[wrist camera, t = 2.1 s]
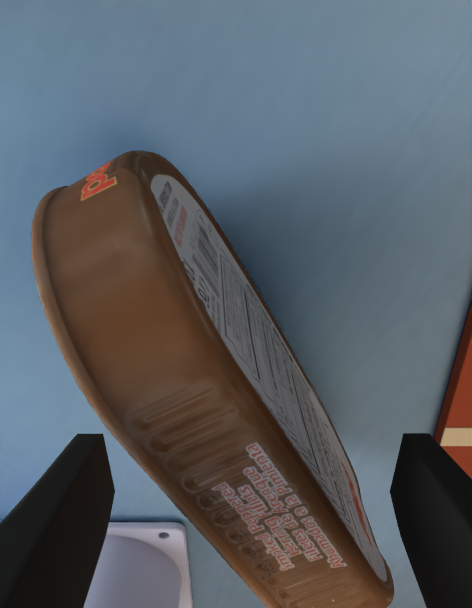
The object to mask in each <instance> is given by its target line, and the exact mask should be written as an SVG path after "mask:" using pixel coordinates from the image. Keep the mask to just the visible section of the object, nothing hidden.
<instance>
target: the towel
mask: <svg viewBox="0 0 472 608" xmlns="http://www.w3.org/2000/svg"><path fill="white" fill-rule="evenodd" d="M434 439H435V440H436V441H437V442H438V443H439V444H440V445H441V447H442V448H443V449H444V450H445V451H446V452H447V453H448V454H449V455H450V456H451V457H452V458H453V460H454V461H455V462H456V463H457V464H458V465H459V466H460V467H461V468H462V469H463V470H464V471H465V472H466V473H467V475H468V476H469V477H470V478H472V302H471V306H470V309H469V313H468V317H467V320H466V324H465V327H464V331H463V335H462V338H461V342H460V345H459V349H458V353H457V356H456V360H455V363H454V367H453V371H452V374H451V378H450V382H449V385H448V389H447V392H446V396H445V400H444V403H443V407H442V410H441V414H440V418H439V421H438V425H437V428H436V432H435V436H434Z"/></svg>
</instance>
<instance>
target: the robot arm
mask: <svg viewBox="0 0 472 608" xmlns="http://www.w3.org/2000/svg"><path fill="white" fill-rule="evenodd" d="M114 494H115V489H114V484H113V480H112V475H111V470H110V465H109V461H108V456H107V451H106V446H105V441H104V437H103V434H77V435H76V436H75V437H74V438H73V439H72V440H71V442H70V443H69V444H68V445H67V447H66V448H65V449H64V450H63V451H62V453H61V454H60V455H59V456H58V458H57V459H56V460H55V461H54V462H53V464H52V465H51V466H50V467H49V468H48V470H47V471H46V472H45V473H44V474H43V475H42V477H41V478H40V479H39V480H38V481H37V483H36V484H35V485H34V486H33V487H32V488H31V489H30V491H29V492H28V493H27V494H26V495H25V496H24V497H23V498H22V500H21V501H20V502H19V503H18V504H17V505H16V506H15V508H14V509H13V510H12V511H11V512H10V513H9V514H8V515H7V516H6V517H5V519H4V520H3V521H2V522H0V608H193V599H192V589H191V579H190V569H189V559H188V549H187V539H186V530H185V527H184V526H183V525H182V524H180V523H177V522H109V520H110V515H111V509H112V504H113V499H114ZM390 494H391V498H392V502H393V507H394V511H395V515H396V519H397V523H398V527H399V531H400V535H401V538H402V541H403V544H404V547H405V549H406V552H407V555H408V558H409V560H410V563H411V566H412V569H413V572H414V574H415V577H416V580H417V582H418V585H419V588H420V591H421V593H422V596H423V599H424V601H425V604H426V607H427V608H472V479H471V478H470V477H469V476H468V475H467V473H466V472H465V471H464V470H463V469H462V468H461V467H460V466H459V465H458V464H457V463H456V462H455V461H454V460H453V458H452V457H451V456H450V455H449V454H448V453H447V452H446V451H445V450H444V449H443V448H442V447H441V445H440V444H439V443H438V442H437V441H436V440H435V439H434V438H433V437H432V436H431V435H430V434H429V433H405V434H403V438H402V442H401V446H400V450H399V455H398V459H397V463H396V468H395V472H394V476H393V480H392V485H391V489H390Z"/></svg>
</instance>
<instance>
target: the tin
mask: <svg viewBox="0 0 472 608" xmlns="http://www.w3.org/2000/svg"><path fill="white" fill-rule="evenodd" d="M31 241H32V250H31V252H32V262H33V268H34V276H35V281H36V285H37V289H38V292H39V296H40V299H41V303H42V305H43V308H44V312H45V315H46V317H47V320H48V322H49V325H50V328H51V330H52V333H53V335H54V337H55V340H56V342H57V345H58V347H59V350H60V351H61V353H62V355H63V357H64V359H65V361H66V363H67V365H68V367H69V369H70V371H71V373H72V375H73V377H74V379H75V381H76V383H77V385H78V386H79V388H80V390H81V391H82V392H83V394H84V395H85V397H86V399H87V401H88V403H89V404H90V406H91V407H92V408H93V410H94V411H95V413H96V414H97V415H98V417H99V418H100V420H101V421H102V422H103V424H104V425H105V426H106V428H107V429H108V430H109V431H110V433H111V434H112V435H113V436H114V438H115V439H116V440H117V441H118V442H119V443H120V444H121V445H122V446H123V448H124V449H125V450H126V451H127V452H128V454H129V455H130V456H131V457H132V458H133V459H134V460H135V461H136V462H137V463H138V464H139V465H140V467H141V468H142V469H143V470H144V471H145V472H146V473H147V474H148V475H149V476H150V477H151V479H152V480H153V481H154V482H155V483H156V484H157V485H158V486H159V487H160V489H161V490H162V491H163V492H164V493H165V494H166V495H167V496H168V498H169V499H170V500H171V501H172V502H173V503H174V504H175V506H176V507H177V508H178V509H179V510H180V511H181V512H182V513H183V514H184V516H185V517H187V519H188V520H189V521H190V522H191V523H192V524H193V525H194V526H195V527H196V529H197V530H198V531H199V532H200V533H201V534H202V535H203V536H204V537H205V539H206V540H207V541H208V542H209V543H210V544H211V545H212V546H213V547H214V548H215V549H216V551H217V552H218V553H219V554H220V555H221V556H222V557H223V559H224V560H225V561H226V562H227V563H228V564H229V566H230V567H231V568H232V569H233V570H234V571H235V572H236V573H237V574H238V575H239V576H240V577H241V579H242V580H243V581H244V582H245V583H246V585H247V586H248V587H249V588H250V589H251V591H252V592H253V593H254V594H255V595H256V596H257V597H258V598H259V599H260V600H261V601H262V602H263V604H264V605H265V606H266V607H267V608H387V607H388V606H389V605H390V603H391V602H392V600H393V596H394V585H393V579H392V575H391V572H390V569H389V567H388V565H387V563H386V561H385V559H384V558H383V556H382V555H381V553H380V552H379V549H378V547H377V544H376V541H375V539H374V536H373V533H372V530H371V527H370V524H369V521H368V518H367V515H366V513H365V510H364V507H363V504H362V500H361V494H360V488H359V484H358V480H357V477H356V475H355V472H354V470H353V467H352V465H351V463H350V460H349V458H348V456H347V454H346V452H345V450H344V447H343V445H342V443H341V441H340V439H339V437H338V435H337V433H336V431H335V429H334V427H333V424H332V422H331V420H330V418H329V416H328V414H327V412H326V411H325V409H324V407H323V405H322V403H321V401H320V400H319V398H318V396H317V394H316V392H315V390H314V388H313V387H312V385H311V383H310V381H309V380H308V378H307V376H306V375H305V373H304V371H303V369H302V367H301V366H300V364H299V362H298V360H297V358H296V357H295V355H294V353H293V351H292V350H291V348H290V346H289V344H288V342H287V341H286V339H285V337H284V335H283V333H282V331H281V330H280V328H279V326H278V324H277V323H276V321H275V319H274V317H273V316H272V314H271V312H270V311H269V309H268V307H267V305H266V304H265V302H264V300H263V298H262V297H261V295H260V293H259V292H258V290H257V288H256V287H255V285H254V283H253V282H252V280H251V278H250V277H249V275H248V273H247V271H246V270H245V268H244V267H243V265H242V263H241V262H240V260H239V258H238V257H237V255H236V253H235V252H234V250H233V248H232V247H231V245H230V243H229V241H228V240H227V238H226V236H225V235H224V233H223V232H222V230H221V229H220V227H219V226H218V224H217V222H216V221H215V219H214V218H213V216H212V215H211V213H210V212H209V210H208V209H207V207H206V206H205V204H204V203H203V201H202V200H201V199H200V197H199V196H198V194H197V193H196V191H195V190H194V189H193V187H192V186H191V185H190V184H189V183H188V181H187V180H186V179H185V178H184V176H183V175H182V174H181V173H180V172H179V171H178V170H177V169H176V168H175V167H174V166H173V165H172V164H171V163H170V162H169V161H167V160H166V159H165V158H164V157H162V156H160V155H158V154H156V153H153V152H147V151H131V152H127V153H124V154H122V155H120V156H118V157H117V158H115V159H113V160H111V161H109V162H108V163H106V164H105V165H103V166H101V167H100V168H98V169H97V170H95V171H94V172H92V173H90V174H89V175H87V176H86V177H84V178H83V179H81V180H79V181H78V182H76V183H74V184H73V185H71V186H63V187H59V188H56V189H54V190H52V191H50V192H49V193H47V194H46V195H45V196H44V197H43V199H42V200H41V201H40V203H39V205H38V207H37V209H36V211H35V215H34V219H33V223H32V232H31Z"/></svg>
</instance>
